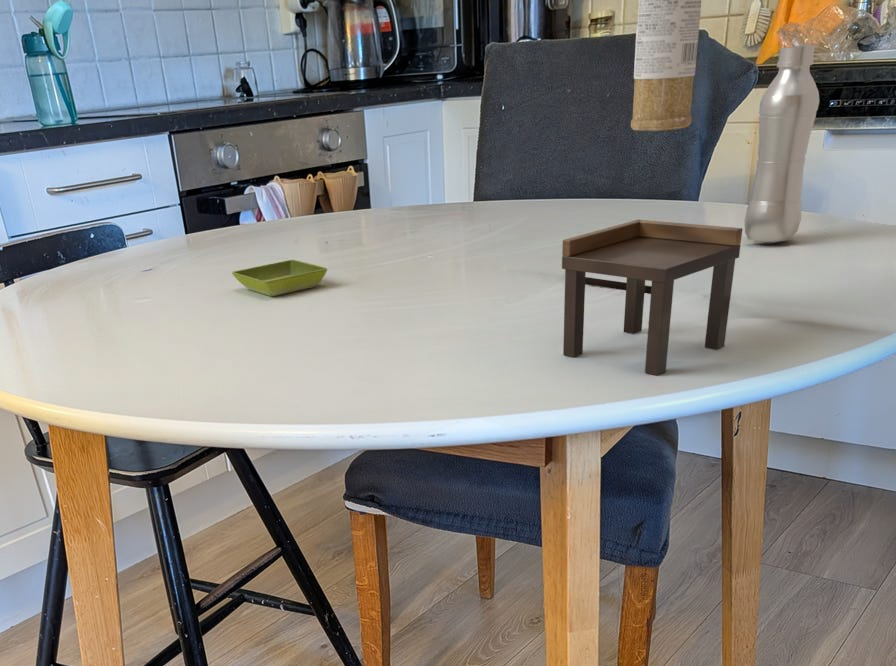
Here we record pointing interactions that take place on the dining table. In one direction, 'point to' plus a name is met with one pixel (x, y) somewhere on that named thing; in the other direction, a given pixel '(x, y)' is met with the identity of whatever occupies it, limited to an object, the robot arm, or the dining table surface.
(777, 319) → the dining table surface
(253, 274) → the green square tray
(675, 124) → the sprinkles bottle
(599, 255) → the small brown wooden table
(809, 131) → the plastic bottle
